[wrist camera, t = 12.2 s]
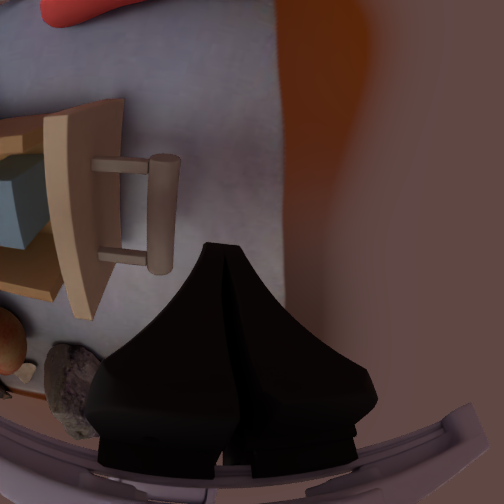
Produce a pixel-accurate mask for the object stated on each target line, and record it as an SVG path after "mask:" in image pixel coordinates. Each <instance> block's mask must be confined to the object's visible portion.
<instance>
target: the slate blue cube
mask: <svg viewBox="0 0 504 504" xmlns="http://www.w3.org/2000/svg"><path fill="white" fill-rule="evenodd" d="M49 220H50V213H49V206H48V198H47V189H46V179H45V165H44V154H23V155H10V156H8V157H6V158H4V159H3V160H1V161H0V246H4V247H10V248H17V249H23V250H24V249H25V248H26V247H27V246H28V245H29V244H30V242H31V241H32V240H33V239H34V238H35V236H36V235H37V234H38V233H39V232H40V231H41V229H42V228H43V227H44V226H45V225H46V224H47V223H48V222H49Z"/></svg>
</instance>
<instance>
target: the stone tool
mask: <svg viewBox="0 0 504 504" xmlns="http://www.w3.org/2000/svg"><path fill="white" fill-rule="evenodd" d="M35 370H36V366H35V365H33V364H31V363H23V364H22V366H21V367H20V368H19V369H18V370H17V371H16V372H14V373H13V374H15V375H16V376H18V377H19V379H20V380H21V381H22V382H23V383H26V382H30V381H29V380H30V379H31V378H32V376H33V372H35ZM26 384H27V383H26Z"/></svg>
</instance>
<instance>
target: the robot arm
mask: <svg viewBox="0 0 504 504" xmlns="http://www.w3.org/2000/svg"><path fill="white" fill-rule="evenodd" d="M377 401H378V397H377V394H376V391H375V388H374V385H373V383H372V380H371V378H370V376H369V374H368V372H367V370H366V369H365V368H363V367H361V366H360V365H358V364H356V363H354V362H352V361H351V360H349V359H347V358H346V357H344V356H342V355H341V354H339V353H337V352H336V351H335V350H333V349H332V348H330V347H329V346H327V345H326V344H325V343H323V342H322V341H321V340H319V339H318V338H317V337H315V336H314V335H313V334H312V333H310V332H309V331H308V330H307V329H306V328H305V327H303V326H302V325H301V324H300V323H299V322H298V321H297V320H295V319H294V318H293V317H292V316H291V315H290V314H289V313H288V312H287V311H286V310H285V309H284V307H283V306H282V305H281V304H280V303H279V302H278V301H277V300H276V299H275V297H274V296H273V295H272V294H271V292H270V291H269V290H268V289H267V287H266V286H265V285H264V283H263V282H262V280H261V279H260V277H259V276H258V275H257V273H256V272H255V270H254V269H253V267H252V265H251V264H250V262H249V261H248V259H247V257H246V256H245V254H244V252H243V250H242V249H241V247H240V246H238V245H229V244H220V243H211V242H206V243H204V244H203V248H202V251H201V254H200V256H199V258H198V260H197V262H196V264H195V266H194V268H193V270H192V271H191V273H190V275H189V276H188V278H187V279H186V281H185V282H184V284H183V285H182V287H181V288H180V289H179V291H178V292H177V293H176V295H175V296H174V297H173V298H172V300H171V301H170V302H169V303H168V304H167V306H166V307H165V308H164V309H163V310H162V311H161V312H160V313H159V314H158V315H157V316H156V317H155V319H154V320H152V321H151V322H150V323H149V324H148V325H147V326H146V327H145V328H144V329H143V330H142V331H140V332H139V333H138V334H137V335H136V336H135V337H134V338H132V339H131V340H130V341H129V342H128V343H126V344H125V345H124V346H122V347H121V348H120V349H118V350H117V351H115V352H114V353H113V354H111V355H110V356H108V357H107V358H106V359H104V360H103V361H101V363H100V365H99V367H98V369H97V371H96V373H95V375H94V377H93V380H92V382H91V385H90V388H89V391H88V395H87V400H86V405H85V410H84V415H85V417H86V419H87V421H88V422H89V423H90V425H91V426H92V427H93V428H94V429H95V431H96V432H97V433H98V434H99V435H100V441H99V449H98V451H96V450H91V449H87V448H84V447H80V446H77V445H73V444H70V443H67V442H64V441H61V440H57V439H55V438H52V437H49V436H46V435H43V434H41V433H38V432H35V431H33V430H30V429H28V428H26V427H23V426H21V425H18V424H16V423H14V422H12V421H10V420H7V419H5V418H3V417H1V416H0V494H1V495H3V496H4V497H6V498H8V499H9V500H11V501H12V502H14V503H16V504H171V503H161V502H153V501H148V499H150V500H157V501H165V502H175V503H188V504H215V498H216V495H217V490H218V488H219V489H222V488H225V489H226V488H251V487H263V486H273V485H282V484H290V483H297V482H303V481H309V480H314V479H319V478H324V477H328V476H333V475H338V474H341V473H346V472H350V471H352V472H351V473H349V474H346V475H343V476H340V477H336V478H333V479H330V480H328V481H327V482H325V483H323V484H320V485H318V486H315V487H311V488H308V489H306V491H305V494H306V497H305V498H299V499H293V500H287V501H279V502H271V503H261V504H416V503H417V502H419V501H420V500H422V499H424V498H425V497H427V496H428V495H430V494H431V493H432V492H434V491H435V490H437V489H438V488H439V487H441V486H442V485H444V484H445V483H446V482H448V481H449V480H450V479H451V478H453V477H454V476H456V475H457V474H458V473H459V472H461V471H462V470H463V469H464V468H465V467H467V466H468V465H469V464H470V463H472V462H473V461H474V460H475V459H477V458H478V457H479V456H481V455H482V454H483V453H485V452H486V451H487V450H488V449H489V448H490V445H489V442H488V440H487V437H486V435H485V432H484V430H483V428H482V425H481V423H480V421H479V418H478V416H477V414H476V412H475V410H474V407H473V405H472V403H468V404H466V405H464V406H461V407H459V408H457V409H455V410H454V411H452V412H451V413H450V414H448V415H447V416H445V417H444V418H443V419H442V420H441V421H439V422H437V423H434V424H432V425H430V426H427V427H424V428H422V429H419V430H417V431H414V432H411V433H409V434H406V435H403V436H400V437H397V438H394V439H391V440H388V441H385V442H381V443H378V444H374V445H371V446H367V447H364V448H360V449H356V447H355V444H354V440H353V437H355V436H356V435H357V431H356V428H355V424H356V423H357V422H358V421H360V420H361V419H362V418H363V417H364V416H366V415H367V414H368V413H369V412H370V411H371V410H372V409H373V408H374V407H375V405H376V403H377ZM222 451H223V466H216V462H217V460H218V458H219V456H220V454H221V452H222ZM93 473H96V474H100V475H105V476H109V479H107V478H104V477H100V476H97V475H94V474H93Z"/></svg>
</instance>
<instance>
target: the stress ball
mask: <svg viewBox="0 0 504 504" xmlns="http://www.w3.org/2000/svg"><path fill="white" fill-rule="evenodd" d="M141 1H146V0H41V3H40V8H41V15H42V18H43V20H44V21H45V22H46V23H47V24H48V25H50V26H52V27H55V28H64V27H69V26H73V25H76V24H79V23H81V22H84V21H87V20H89V19H91V18H94V17H96V16H98V15H101V14H103V13H105V12H108V11H110V10H113V9H115V8H118V7H121V6H125V5H129V4H133V3H137V2H141Z"/></svg>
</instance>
